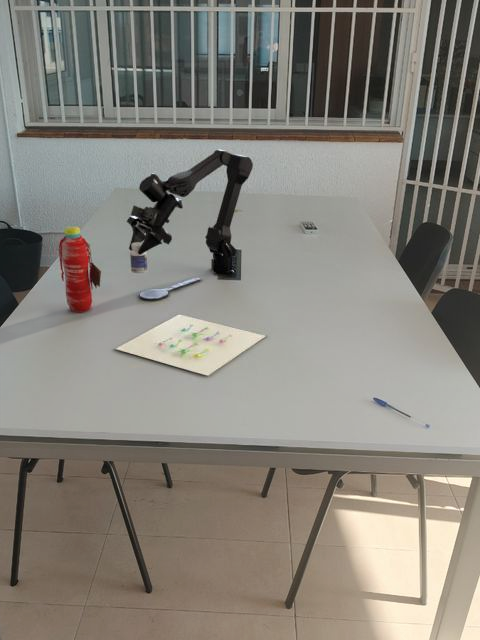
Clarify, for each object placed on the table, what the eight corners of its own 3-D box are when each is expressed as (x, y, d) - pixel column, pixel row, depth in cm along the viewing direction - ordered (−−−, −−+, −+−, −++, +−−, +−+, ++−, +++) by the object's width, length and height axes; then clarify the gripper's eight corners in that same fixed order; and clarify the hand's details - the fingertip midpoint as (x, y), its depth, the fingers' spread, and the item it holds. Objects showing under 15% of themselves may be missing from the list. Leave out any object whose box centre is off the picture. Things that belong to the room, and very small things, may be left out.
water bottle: (105, 304, 220) (99, 223, 207) (104, 313, 213) (96, 230, 200) (66, 304, 219) (57, 224, 206) (63, 314, 212) (54, 231, 199)
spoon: (190, 277, 243) (190, 275, 242) (207, 282, 238) (207, 280, 238) (134, 296, 226) (134, 294, 225) (152, 302, 221) (151, 300, 221)
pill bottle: (149, 272, 226) (147, 245, 221) (132, 274, 224) (130, 247, 220) (145, 267, 230) (144, 240, 225) (129, 269, 229) (127, 242, 224)
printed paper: (207, 376, 176) (207, 371, 176) (115, 349, 190) (114, 345, 189) (265, 337, 198) (266, 332, 198) (179, 315, 212) (178, 310, 211)
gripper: (129, 190, 224) (102, 230, 223) (161, 201, 211) (132, 244, 211) (152, 211, 232) (125, 250, 232) (184, 223, 219) (156, 264, 219)
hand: (134, 251), depth 223 cm, fingers closed on pill bottle, 5 cm apart
